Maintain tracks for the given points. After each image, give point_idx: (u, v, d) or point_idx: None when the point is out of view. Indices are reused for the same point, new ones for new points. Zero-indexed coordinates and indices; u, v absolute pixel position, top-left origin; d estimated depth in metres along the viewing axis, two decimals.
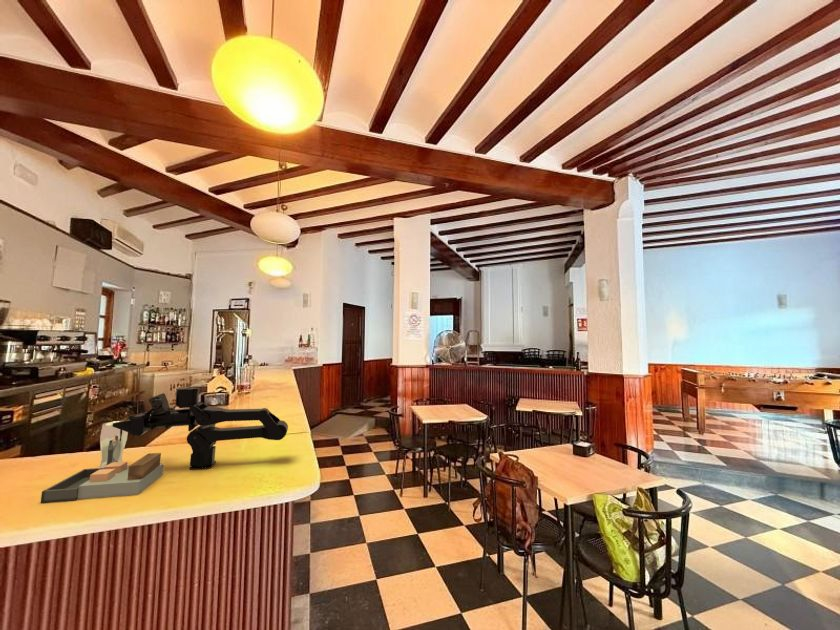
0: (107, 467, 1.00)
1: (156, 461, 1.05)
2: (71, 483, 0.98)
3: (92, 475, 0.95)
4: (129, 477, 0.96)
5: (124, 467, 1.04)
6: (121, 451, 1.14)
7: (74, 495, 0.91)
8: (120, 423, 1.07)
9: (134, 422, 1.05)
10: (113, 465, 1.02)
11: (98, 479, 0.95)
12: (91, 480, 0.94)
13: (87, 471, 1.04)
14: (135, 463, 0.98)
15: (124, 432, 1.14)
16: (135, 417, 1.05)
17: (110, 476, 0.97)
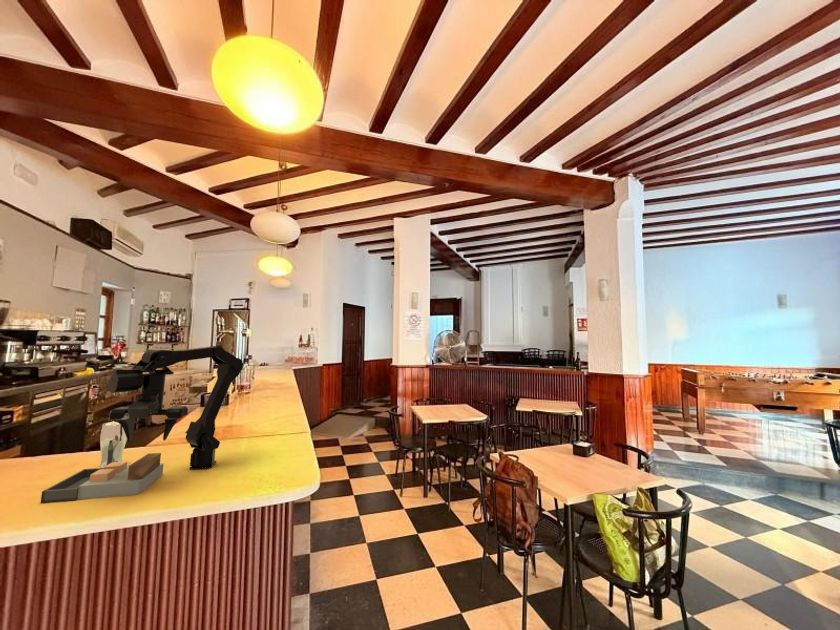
0: (107, 467, 1.00)
1: (156, 461, 1.05)
2: (71, 483, 0.98)
3: (92, 475, 0.95)
4: (129, 477, 0.96)
5: (124, 467, 1.04)
6: (121, 451, 1.14)
7: (74, 495, 0.91)
8: (167, 432, 1.04)
9: (182, 415, 1.05)
10: (113, 465, 1.02)
11: (98, 479, 0.95)
12: (91, 480, 0.94)
13: (87, 471, 1.04)
14: (135, 463, 0.98)
15: (124, 432, 1.14)
16: (179, 416, 1.03)
17: (110, 476, 0.97)
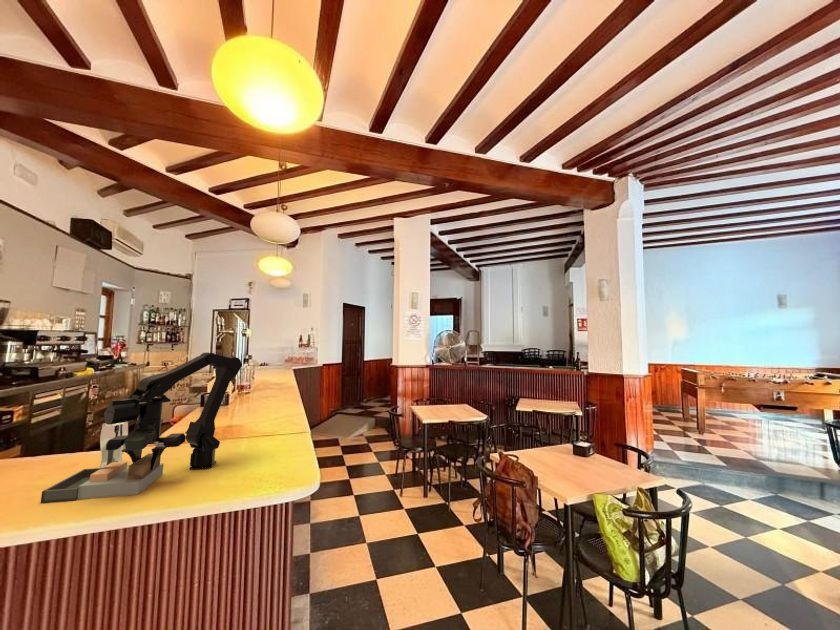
0: (107, 467, 1.00)
1: None
2: (71, 483, 0.98)
3: (92, 475, 0.95)
4: (129, 477, 0.96)
5: (124, 467, 1.04)
6: (121, 451, 1.14)
7: (74, 495, 0.91)
8: (155, 461, 1.03)
9: (180, 443, 1.04)
10: (113, 465, 1.02)
11: (98, 479, 0.95)
12: (91, 480, 0.94)
13: (87, 471, 1.04)
14: (135, 463, 0.98)
15: (124, 432, 1.14)
16: (176, 444, 1.02)
17: (110, 476, 0.97)
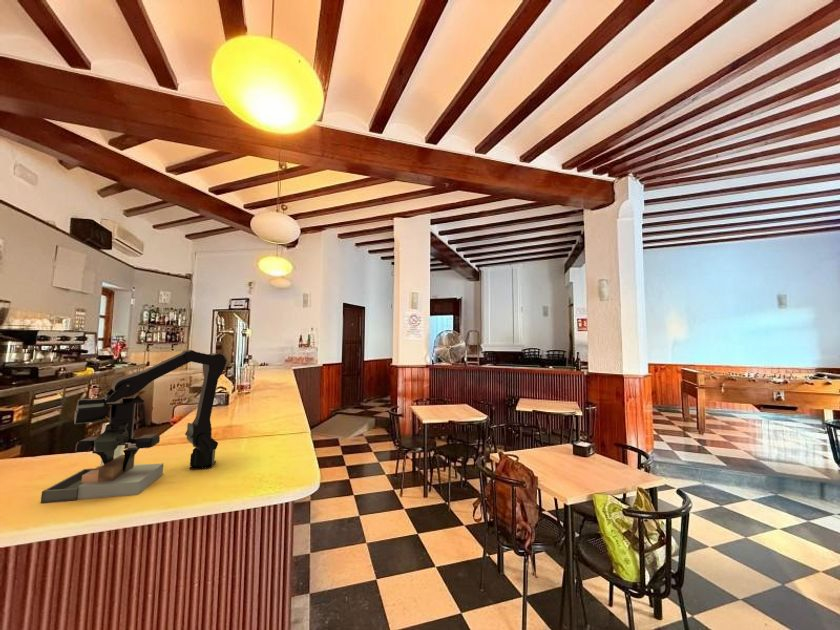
0: None
1: None
2: (71, 483, 0.98)
3: (84, 476, 0.94)
4: (99, 479, 0.94)
5: None
6: (121, 451, 1.14)
7: (74, 495, 0.91)
8: (127, 463, 1.01)
9: (153, 444, 1.02)
10: None
11: (90, 479, 0.94)
12: (83, 480, 0.94)
13: (87, 471, 1.04)
14: (106, 465, 0.96)
15: None
16: (149, 445, 1.00)
17: None
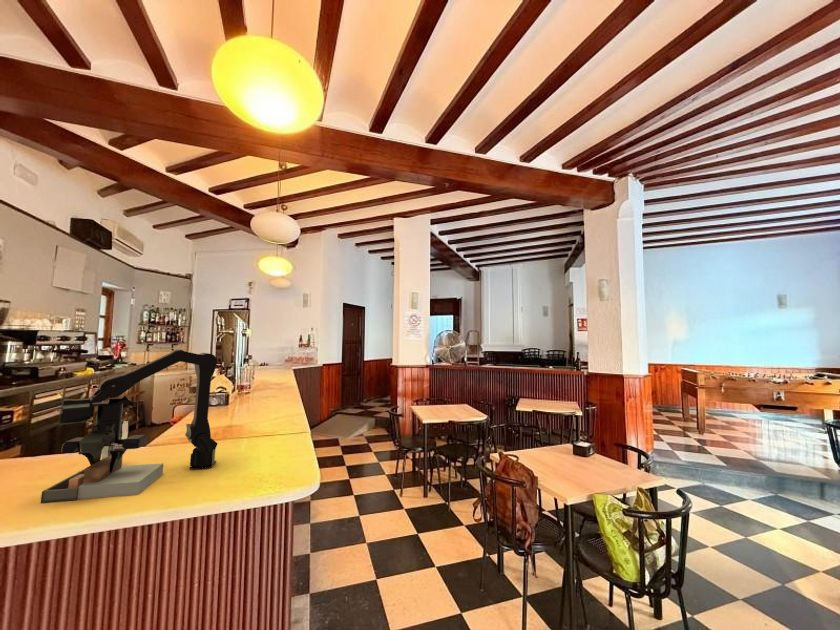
0: None
1: None
2: None
3: None
4: (85, 480, 0.94)
5: None
6: None
7: (74, 495, 0.91)
8: (114, 464, 1.00)
9: (140, 445, 1.01)
10: None
11: (74, 486, 0.93)
12: None
13: None
14: (92, 466, 0.95)
15: (124, 432, 1.14)
16: (136, 446, 1.00)
17: (79, 476, 0.95)
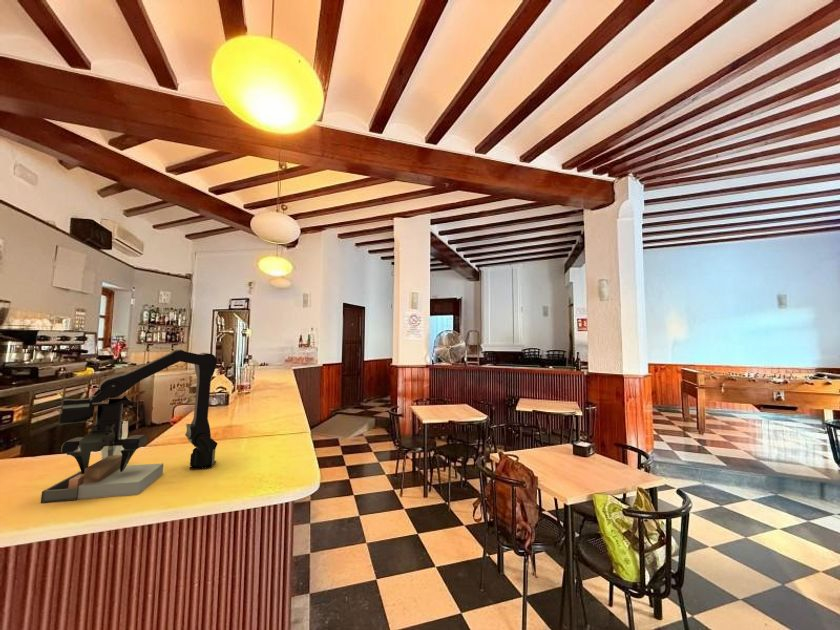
0: None
1: (117, 463, 1.03)
2: None
3: None
4: (85, 480, 0.94)
5: None
6: None
7: (74, 495, 0.91)
8: (125, 463, 1.00)
9: (140, 445, 1.01)
10: None
11: (74, 486, 0.93)
12: None
13: None
14: (92, 466, 0.95)
15: (124, 432, 1.14)
16: (136, 446, 1.00)
17: (79, 476, 0.95)
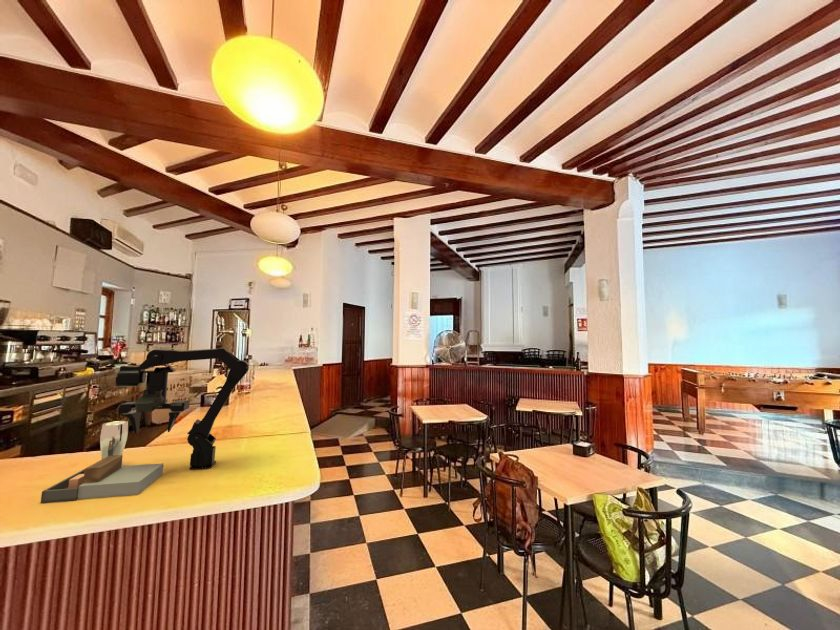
0: None
1: (117, 463, 1.03)
2: None
3: None
4: (85, 480, 0.94)
5: None
6: (121, 451, 1.14)
7: (74, 495, 0.91)
8: (171, 424, 1.13)
9: (185, 408, 1.14)
10: None
11: (74, 486, 0.93)
12: None
13: None
14: (92, 466, 0.95)
15: (124, 432, 1.14)
16: (182, 409, 1.13)
17: (79, 476, 0.95)
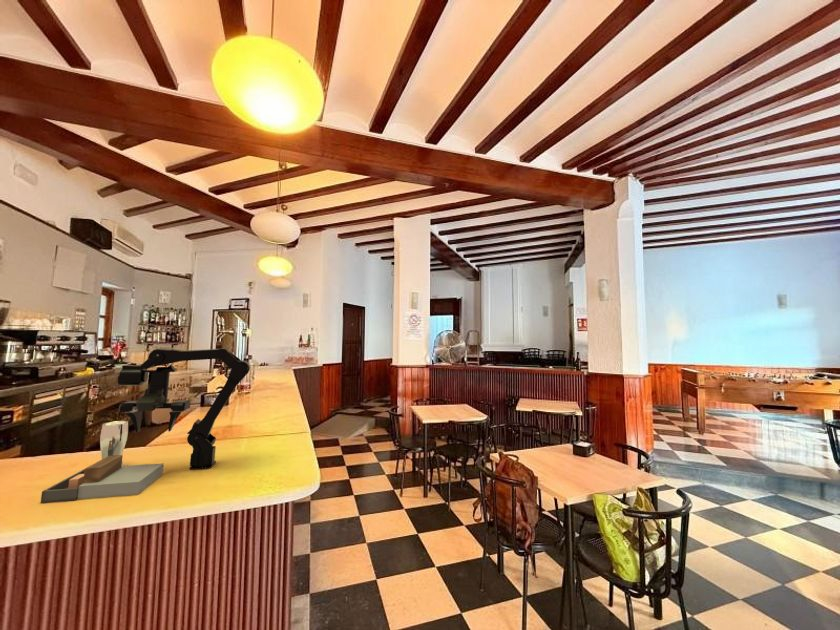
0: None
1: (117, 463, 1.03)
2: None
3: None
4: (85, 480, 0.94)
5: None
6: (121, 451, 1.14)
7: (74, 495, 0.91)
8: (172, 424, 1.14)
9: (185, 408, 1.14)
10: None
11: (74, 486, 0.93)
12: None
13: None
14: (92, 466, 0.95)
15: (124, 432, 1.14)
16: (183, 409, 1.13)
17: (79, 476, 0.95)
